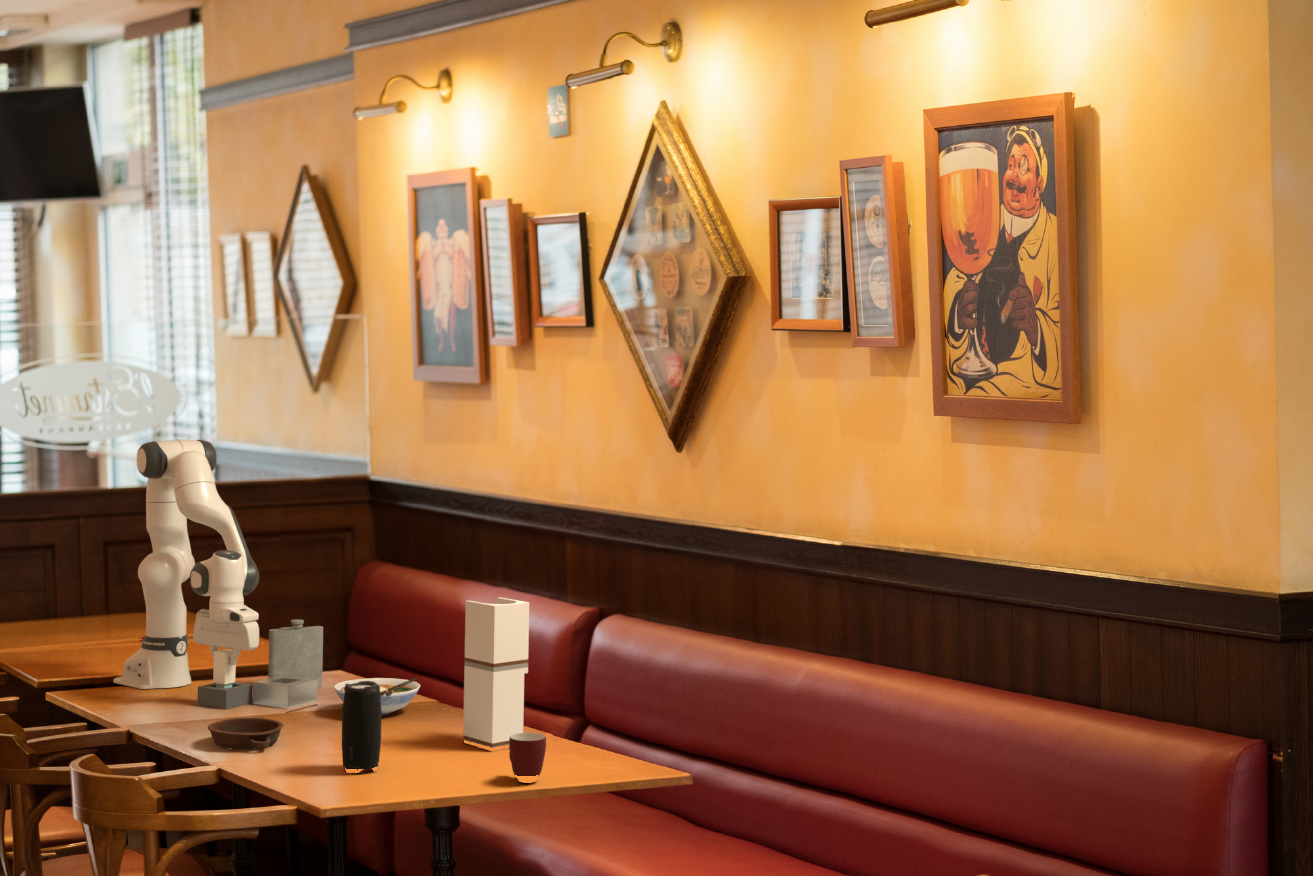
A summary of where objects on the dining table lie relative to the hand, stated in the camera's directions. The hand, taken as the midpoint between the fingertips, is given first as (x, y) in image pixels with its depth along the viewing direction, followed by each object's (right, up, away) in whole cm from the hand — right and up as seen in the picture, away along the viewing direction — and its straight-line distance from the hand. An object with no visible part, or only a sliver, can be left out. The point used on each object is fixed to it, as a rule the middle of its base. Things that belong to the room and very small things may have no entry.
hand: (224, 663), depth 398 cm
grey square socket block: (0, -12, 0) cm, 12 cm away
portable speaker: (+49, -15, -63) cm, 81 cm away
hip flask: (+12, -12, +27) cm, 32 cm away
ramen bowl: (+41, -13, -2) cm, 43 cm away
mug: (+86, -16, -69) cm, 112 cm away
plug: (0, -7, 0) cm, 7 cm away
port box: (+15, -12, +4) cm, 20 cm away
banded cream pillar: (+76, -15, -35) cm, 85 cm away
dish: (+17, -14, -40) cm, 46 cm away
